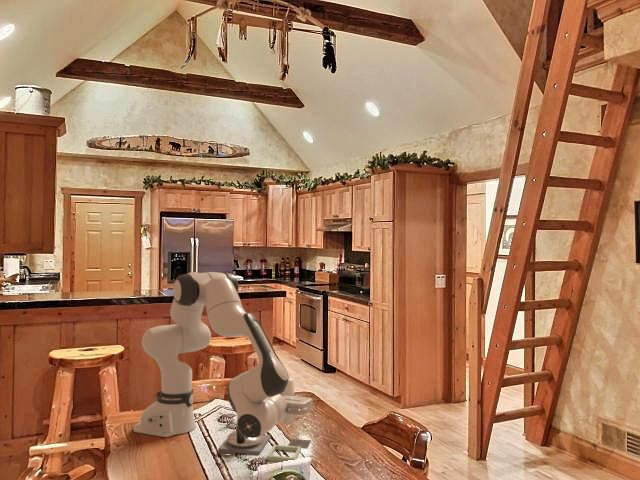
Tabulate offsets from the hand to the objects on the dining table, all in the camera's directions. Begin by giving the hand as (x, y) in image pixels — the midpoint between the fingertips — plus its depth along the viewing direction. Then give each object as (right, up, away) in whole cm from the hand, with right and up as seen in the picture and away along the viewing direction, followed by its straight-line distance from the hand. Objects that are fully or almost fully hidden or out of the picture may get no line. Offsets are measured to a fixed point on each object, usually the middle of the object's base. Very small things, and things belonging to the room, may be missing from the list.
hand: (289, 396), depth 163 cm
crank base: (-15, -19, +5) cm, 25 cm away
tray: (-2, -19, -3) cm, 20 cm away
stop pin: (0, -8, -1) cm, 8 cm away
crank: (-15, -17, +5) cm, 23 cm away
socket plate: (+3, -19, +6) cm, 21 cm away
